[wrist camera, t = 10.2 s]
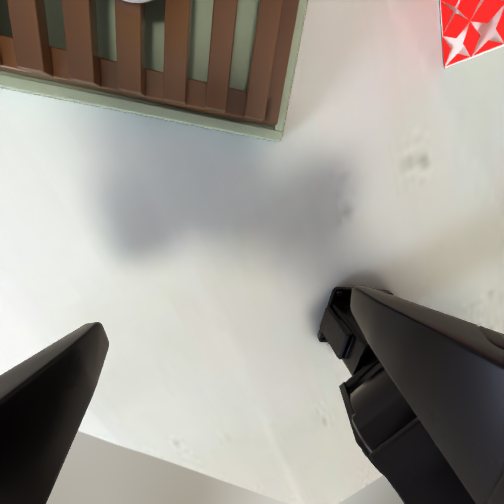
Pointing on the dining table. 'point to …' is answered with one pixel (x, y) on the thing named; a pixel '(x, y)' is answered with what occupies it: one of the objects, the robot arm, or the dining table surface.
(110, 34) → the drip tray
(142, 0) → the supplement bottle
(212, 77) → the drying rack
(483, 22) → the red and white cube
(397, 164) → the dining table surface
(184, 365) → the dining table surface
